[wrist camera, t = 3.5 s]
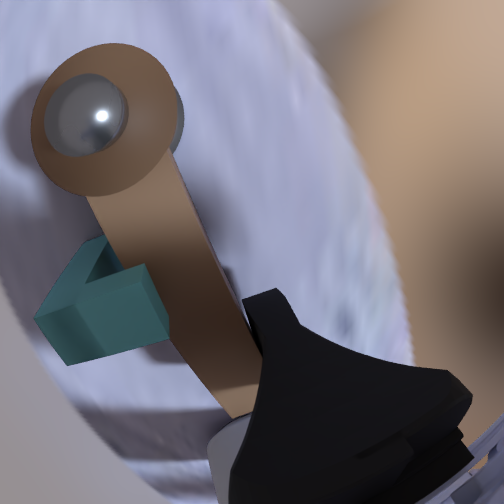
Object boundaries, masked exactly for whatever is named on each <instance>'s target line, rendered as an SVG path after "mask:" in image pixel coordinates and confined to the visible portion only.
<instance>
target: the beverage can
mask: <svg viewBox="0 0 504 504" xmlns="http://www.w3.org/2000/svg"><path fill="white" fill-rule="evenodd" d="M251 415H252V414H249V415H246V416H243V417H241V418H239V419H236V420H235V421H233V422H231V423H229V424H228V425H226V426H225V427H224V428H223V429H222V430H221V431H219V432H218V433H217V434H216V435H214V436H213V438H212V439H211V440H210V441H209V443H208V445H207V456H208V461H209V465H210V470H211V474H212V479H213V483H214V487H215V491H216V495H217V499H218V503H219V504H228V489H229V477H230V470H231V467H232V465H233V463H234V460H235V458H236V456H237V453H238V451H239V449H240V446H241V444H242V442H243V439H244V436H245V434H246V431H247V427H248V424H249V421H250V418H251Z"/></svg>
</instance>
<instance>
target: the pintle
mask: <svg viewBox="0 0 504 504" xmlns="http://www.w3.org/2000/svg"><path fill="white" fill-rule="evenodd" d="M174 88H175V87H174ZM175 92H176V98H177V127H176V132H175V135H174V138H173V141H172V143H171V145H170V150H171V152H172V154H173V153H174V151H175V150H176V148H177V146H178V144H179V142H180V139H181V136H182V132H183V127H184V109H183V104H182V101H181V98H180V95H179V93H178V91H177V90H176V88H175ZM128 118H129V106H128V102H127V99H126V97H125V95H124V93H123V92H122V91H121V90H120V89H119V88H118V87H117V86H116V85H114V84H113V83H112V82H111V81H109V80H108V79H107V78H105V77H103V76H101V75H98V74H93V73H86V74H80V75H77V76H74V77H72V78H70V79H68V80H67V81H65V82H64V83H63V84H62V85H61V86H59V87H58V89H57V90H56V91H55V92H54V94H53V95H52V96H51V98H50V100H49V102H48V105H47V107H46V111H45V116H44V128H45V133H46V136H47V138H48V141H49V142H50V144H51V145H52V146H53V147H54V149H56V150H57V151H58V152H60V153H62V154H64V155H66V156H71V157H82V156H86V155H90V154H94V153H98V152H101V151H104V150H106V149H108V148H109V147H111V146H112V145H113V144H114V143H115V142H116V141H117V140H118V139H119V138H120V137H121V135H122V134H123V132H124V130H125V128H126V126H127V122H128Z"/></svg>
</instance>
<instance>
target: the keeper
mask: <svg viewBox="0 0 504 504" xmlns="http://www.w3.org/2000/svg"><path fill="white" fill-rule="evenodd" d="M34 320H35V322H36V323H37V325H38V326H39V328H40V329H41V331H42V332H43V334H44V335H45V337H46V338H47V340H48V341H49V342H50V344H51V345H52V347H53V348H54V349H55V351H56V352H57V353H58V355H59V356H60V357H61V359H62V360H63V361H64V363H65V364H66V365H67V366H70V365H74V364H78V363H82V362H86V361H90V360H94V359H98V358H102V357H106V356H110V355H114V354H117V353H121V352H125V351H128V350H132V349H136V348H139V347H143V346H146V345H150V344H153V343H157V342H160V341H164V340H167V339H170V335H169V315H168V313H167V311H166V309H165V307H164V305H163V303H162V301H161V299H160V297H159V294H158V292H157V290H156V288H155V286H154V284H153V281H152V279H151V277H150V275H149V272H148V270H147V268H146V266H145V263H143V264H141V265H138V266H135V267H132V268H129V269H126V270H125V269H124V268H123V266H122V264H121V262H120V261H119V259H118V257H117V255H116V254H115V252H114V250H113V248H112V246H111V245H110V243H109V241H108V239H107V237H106V235H105V234H104V235H102V236H99V237H97V238H94V239H92V240H89V241H87V242H84V243H83V244H82V246H81V247H80V248H79V250H78V251H77V252H76V254H75V255H74V257H73V258H72V259H71V261H70V262H69V264H68V265H67V267H66V268H65V269H64V271H63V272H62V274H61V275H60V277H59V278H58V280H57V281H56V283H55V284H54V286H53V287H52V289H51V291H50V292H49V294H48V295H47V297H46V298H45V300H44V302H43V303H42V305H41V307H40V308H39V310H38V312H37V313H36V315H35V317H34Z"/></svg>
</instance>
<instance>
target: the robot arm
mask: <svg viewBox="0 0 504 504" xmlns="http://www.w3.org/2000/svg"><path fill="white" fill-rule="evenodd" d="M242 302H243V305H244V308H245V311H246V315H247V318H248V321H249V324H250V327H251V330H252V333H253V335H254V338H255V340H256V343H257V345H258V348H259V350H260V352H261V354H262V357H263V359H262V368H261V375H260V381H259V386H258V391H257V396H256V400H255V404H254V408H253V411H252V415H251V418H250V421H249V424H248V427H247V431H246V434H245V436H244V439H243V442H242V444H241V446H240V449H239V451H238V453H237V456H236V458H235V460H234V463H233V465H232V467H231V470H230V477H229V489H228V504H504V413H503V414H502V415H501V416H500V417H499V418H498V419H497V420H496V421H495V422H494V423H493V425H491V426H490V427H489V428H488V429H487V430H486V431H485V432H484V433H483V434H482V435H481V436H480V437H479V438H478V439H477V440H476V441H475V442H473V443H472V444H471V445H470V446H469V447H468V448H467V447H466V446H465V445H464V444H463V442H462V441H461V439H462V438H463V433H462V432H461V431H460V429H459V428H458V427H457V426H458V425H459V423H460V422H461V420H462V419H463V417H464V416H465V414H466V412H467V411H468V409H469V407H470V405H471V403H472V397H473V395H472V393H471V392H470V391H469V390H468V389H467V388H466V387H465V386H464V385H463V384H462V383H461V382H460V380H459V379H457V378H456V377H455V376H454V375H452V374H451V373H450V372H449V371H448V370H442V369H432V368H422V367H414V366H408V365H403V364H398V363H393V362H388V361H384V360H381V359H377V358H374V357H371V356H368V355H364V354H361V353H358V352H355V351H353V350H350V349H348V348H345V347H343V346H340V345H338V344H336V343H334V342H331V341H329V340H327V339H325V338H323V337H321V336H320V335H318V334H316V333H314V332H312V331H311V330H309V329H307V328H306V327H304V326H302V325H301V324H300V323H299V321H298V319H297V317H296V315H295V314H294V312H293V310H292V308H291V306H290V304H289V303H288V301H287V299H286V297H285V296H284V295H283V294H282V293H281V292H280V291H279V290H278V289H277V288H274V289H271V290H268V291H266V292H263V293H260V294H257V295H254V296H251V297H248V298H245V299H242ZM489 451H490V452H489ZM488 452H489V454H488V461H487V463H486V464H485V465H484V466H483V467H482V468H481V469H472V470H470V469H471V468H472V467H473V466H474V465H475V464H477V463H478V462H479V461H480V460H481V459H482V458H483V457H484V456H485V455H486V454H487V453H488ZM469 470H470V471H469ZM468 471H469V473H468Z"/></svg>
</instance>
